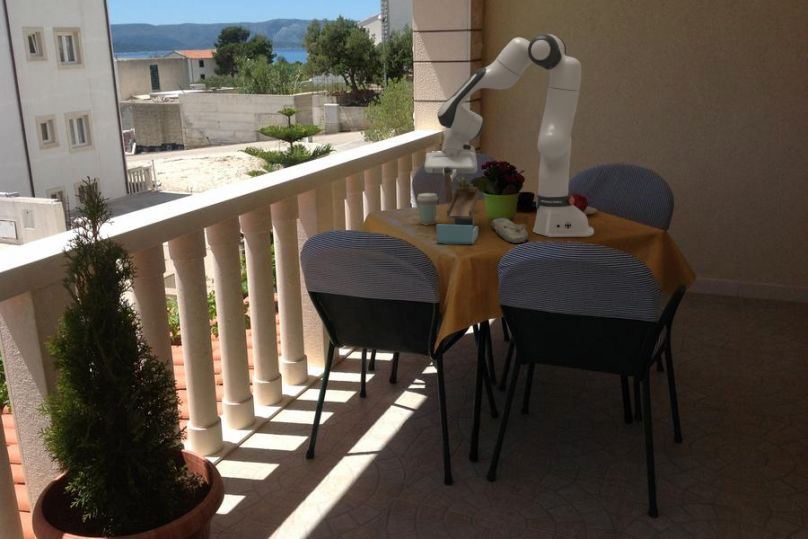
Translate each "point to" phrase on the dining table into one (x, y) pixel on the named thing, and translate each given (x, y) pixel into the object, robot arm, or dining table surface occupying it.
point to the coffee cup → (427, 207)
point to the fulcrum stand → (465, 221)
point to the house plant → (462, 183)
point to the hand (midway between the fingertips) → (448, 180)
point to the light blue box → (456, 234)
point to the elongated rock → (510, 230)
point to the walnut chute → (460, 199)
